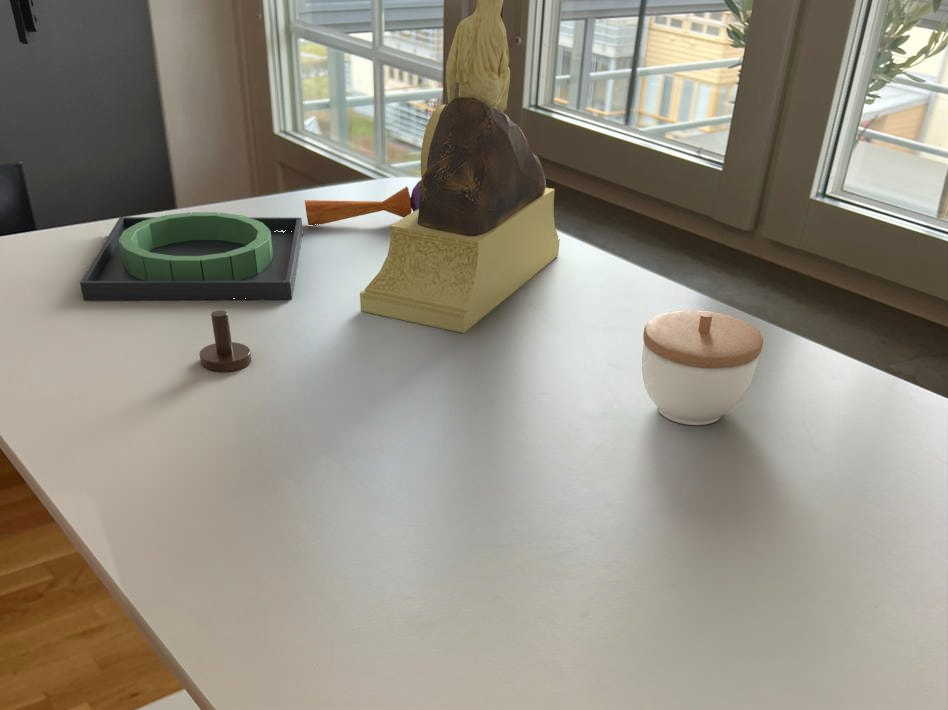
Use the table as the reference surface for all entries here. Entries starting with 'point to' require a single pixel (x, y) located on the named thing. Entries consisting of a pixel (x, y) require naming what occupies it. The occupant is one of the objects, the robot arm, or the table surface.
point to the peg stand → (224, 348)
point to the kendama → (361, 207)
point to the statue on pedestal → (469, 197)
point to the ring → (196, 227)
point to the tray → (272, 283)
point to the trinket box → (698, 364)
